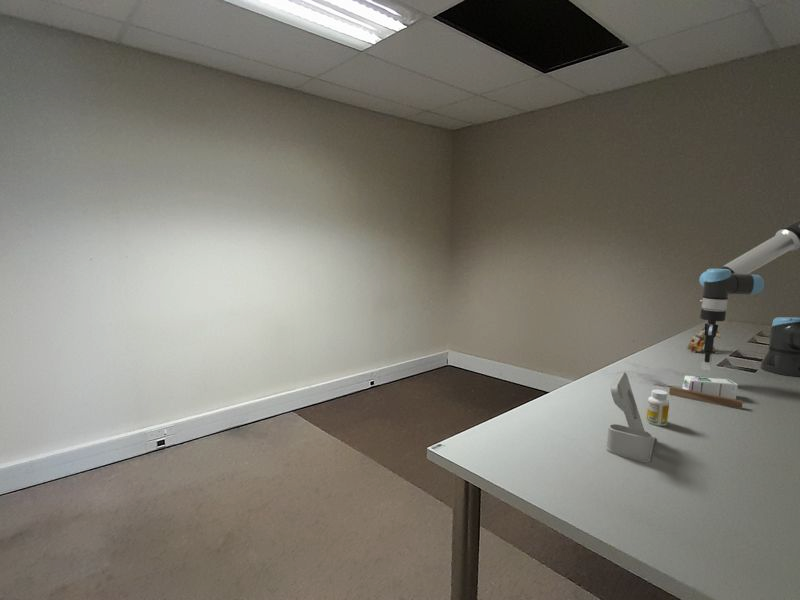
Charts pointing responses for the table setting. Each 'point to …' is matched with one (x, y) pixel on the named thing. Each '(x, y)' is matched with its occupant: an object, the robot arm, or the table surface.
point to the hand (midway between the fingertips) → (705, 369)
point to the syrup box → (711, 386)
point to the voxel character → (700, 341)
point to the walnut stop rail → (706, 397)
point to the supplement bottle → (658, 408)
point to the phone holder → (631, 438)
